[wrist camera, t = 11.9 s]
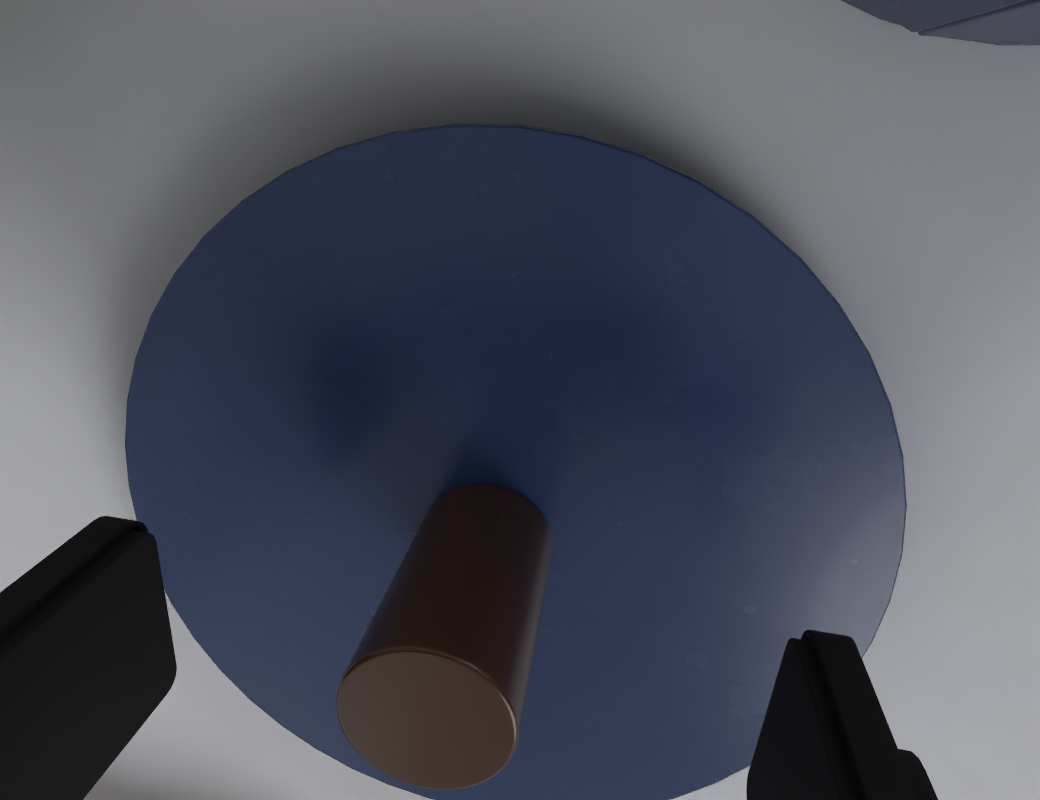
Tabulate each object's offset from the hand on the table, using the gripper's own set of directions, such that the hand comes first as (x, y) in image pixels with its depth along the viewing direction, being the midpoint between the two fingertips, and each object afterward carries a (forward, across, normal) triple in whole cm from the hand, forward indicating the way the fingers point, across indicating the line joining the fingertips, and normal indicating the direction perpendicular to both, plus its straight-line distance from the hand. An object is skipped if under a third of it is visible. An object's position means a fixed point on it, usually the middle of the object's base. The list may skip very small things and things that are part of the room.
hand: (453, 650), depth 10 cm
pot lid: (+4, 0, +1) cm, 4 cm away
